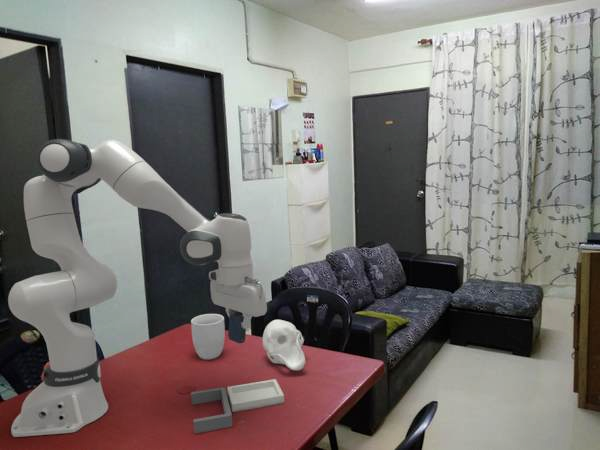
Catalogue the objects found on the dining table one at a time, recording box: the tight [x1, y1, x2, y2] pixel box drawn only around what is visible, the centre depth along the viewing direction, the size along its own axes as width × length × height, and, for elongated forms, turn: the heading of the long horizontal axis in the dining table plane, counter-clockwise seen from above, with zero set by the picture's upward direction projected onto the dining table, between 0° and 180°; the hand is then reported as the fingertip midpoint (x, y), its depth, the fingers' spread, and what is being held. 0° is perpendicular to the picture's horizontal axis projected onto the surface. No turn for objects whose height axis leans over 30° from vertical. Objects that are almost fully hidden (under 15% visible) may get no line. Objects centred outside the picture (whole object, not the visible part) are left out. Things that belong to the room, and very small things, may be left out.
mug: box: [190, 313, 226, 361], centre depth 157 cm, size 15×11×13 cm
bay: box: [190, 386, 233, 435], centre depth 119 cm, size 9×15×3 cm, turn 16°
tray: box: [226, 378, 285, 413], centre depth 126 cm, size 14×10×2 cm
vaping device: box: [227, 310, 247, 344], centre depth 122 cm, size 3×5×12 cm, turn 55°
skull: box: [262, 319, 306, 371], centre depth 147 cm, size 13×14×20 cm
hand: (239, 325), depth 122 cm, fingers closed on vaping device, 4 cm apart
